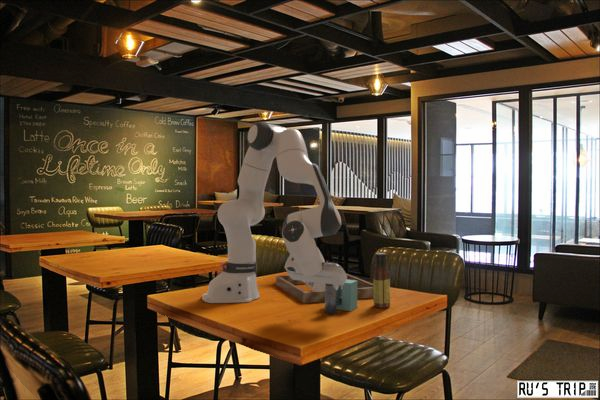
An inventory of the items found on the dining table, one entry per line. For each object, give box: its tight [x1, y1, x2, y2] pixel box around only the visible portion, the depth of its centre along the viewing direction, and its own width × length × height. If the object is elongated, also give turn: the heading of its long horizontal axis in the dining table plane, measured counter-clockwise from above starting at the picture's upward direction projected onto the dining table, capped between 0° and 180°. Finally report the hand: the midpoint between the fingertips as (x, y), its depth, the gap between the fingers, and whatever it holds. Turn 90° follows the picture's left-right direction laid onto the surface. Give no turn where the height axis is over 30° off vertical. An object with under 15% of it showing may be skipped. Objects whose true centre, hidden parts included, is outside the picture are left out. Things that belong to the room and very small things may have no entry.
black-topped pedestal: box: [311, 259, 334, 291], centre depth 203 cm, size 28×26×13 cm
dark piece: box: [324, 284, 342, 316], centre depth 174 cm, size 16×4×11 cm, turn 150°
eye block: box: [336, 279, 358, 312], centre depth 177 cm, size 6×10×10 cm, turn 60°
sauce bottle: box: [372, 252, 391, 309], centre depth 179 cm, size 6×6×20 cm
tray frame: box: [275, 273, 373, 304], centre depth 205 cm, size 33×35×4 cm
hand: (323, 286), depth 163 cm, fingers open, 8 cm apart
